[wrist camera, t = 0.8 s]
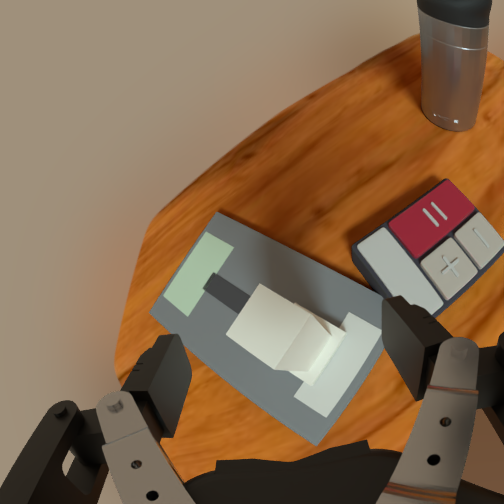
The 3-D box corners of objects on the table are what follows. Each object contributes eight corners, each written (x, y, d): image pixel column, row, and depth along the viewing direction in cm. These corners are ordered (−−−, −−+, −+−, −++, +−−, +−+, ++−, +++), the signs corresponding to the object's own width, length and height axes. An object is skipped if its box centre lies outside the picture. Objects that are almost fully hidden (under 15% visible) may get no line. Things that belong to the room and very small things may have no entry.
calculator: (511, 243, 22) (415, 333, 23) (497, 259, 26) (407, 340, 27) (447, 172, 28) (349, 242, 29) (441, 193, 31) (350, 259, 32)
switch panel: (221, 217, 41) (216, 211, 39) (403, 311, 28) (405, 308, 26) (155, 315, 38) (148, 312, 37) (318, 442, 25) (316, 446, 24)
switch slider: (297, 304, 30) (256, 263, 20) (346, 333, 27) (333, 307, 17) (264, 353, 30) (206, 338, 19) (312, 385, 26) (277, 392, 16)
